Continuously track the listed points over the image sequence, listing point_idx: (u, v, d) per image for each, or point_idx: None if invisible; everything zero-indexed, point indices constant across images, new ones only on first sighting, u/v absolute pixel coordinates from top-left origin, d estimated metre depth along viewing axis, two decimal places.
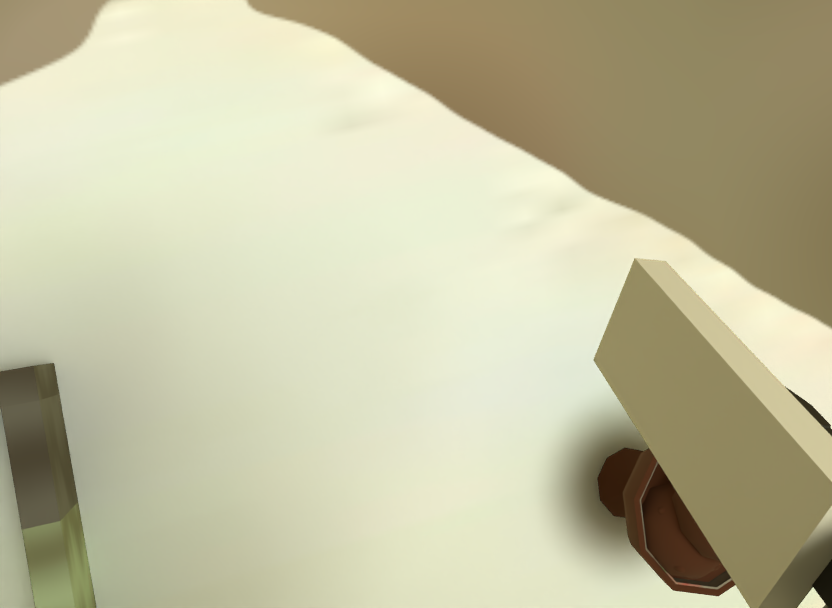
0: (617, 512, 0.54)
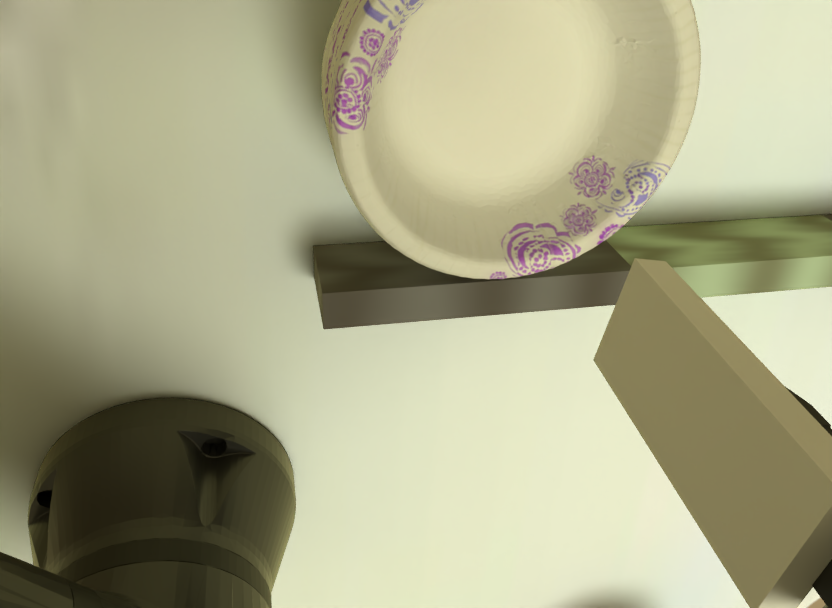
0: None
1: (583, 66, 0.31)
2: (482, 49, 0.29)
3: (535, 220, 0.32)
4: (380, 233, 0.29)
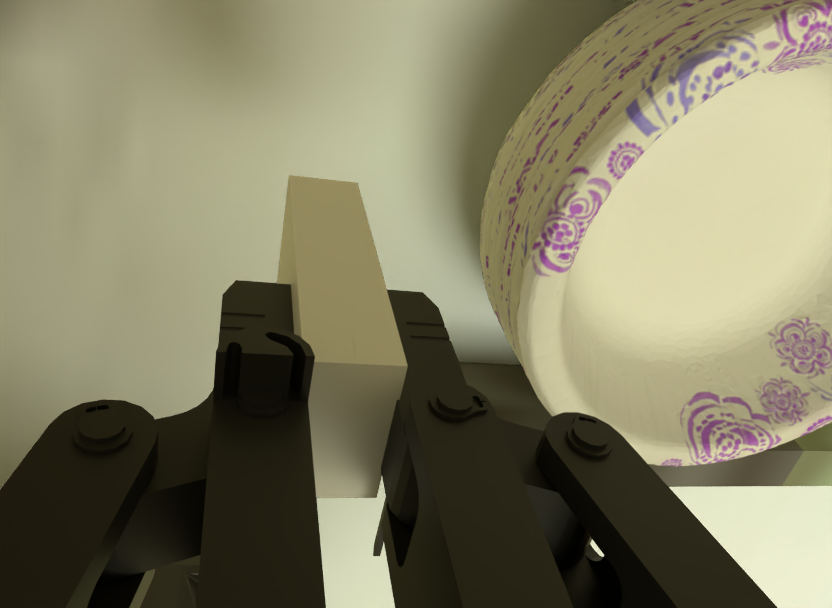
0: None
1: (824, 207, 0.23)
2: (714, 170, 0.22)
3: (721, 390, 0.25)
4: (545, 402, 0.21)
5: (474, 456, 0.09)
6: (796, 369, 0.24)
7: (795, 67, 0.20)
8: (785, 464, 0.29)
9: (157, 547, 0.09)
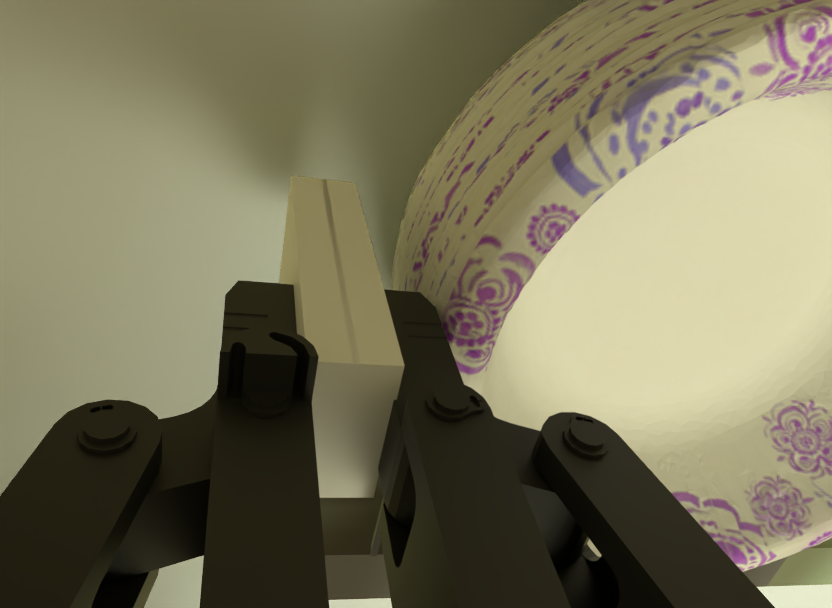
0: None
1: None
2: (691, 222, 0.17)
3: (702, 490, 0.20)
4: None
5: (470, 456, 0.09)
6: (796, 466, 0.19)
7: (798, 92, 0.15)
8: (771, 563, 0.24)
9: (161, 547, 0.09)
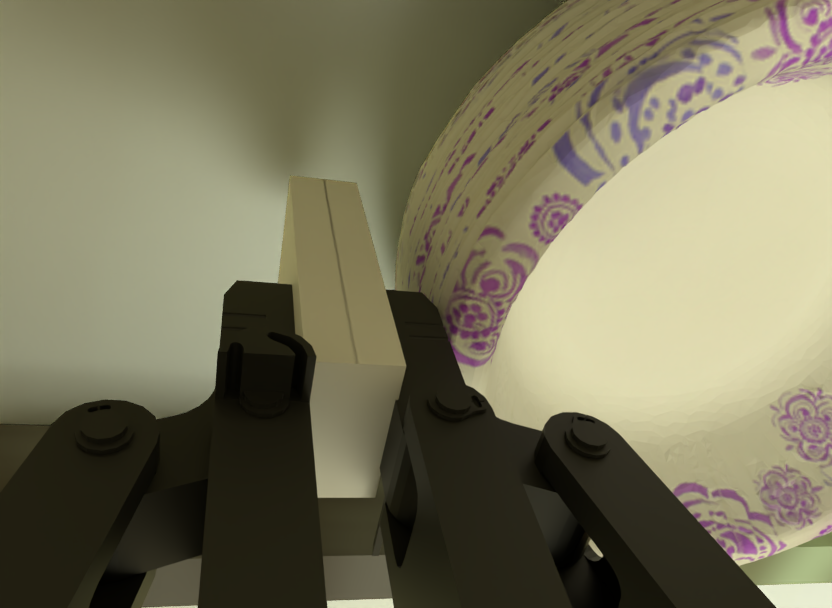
0: None
1: None
2: (695, 211, 0.17)
3: (710, 480, 0.20)
4: None
5: (472, 455, 0.09)
6: (805, 455, 0.19)
7: (801, 77, 0.14)
8: None
9: (159, 547, 0.09)
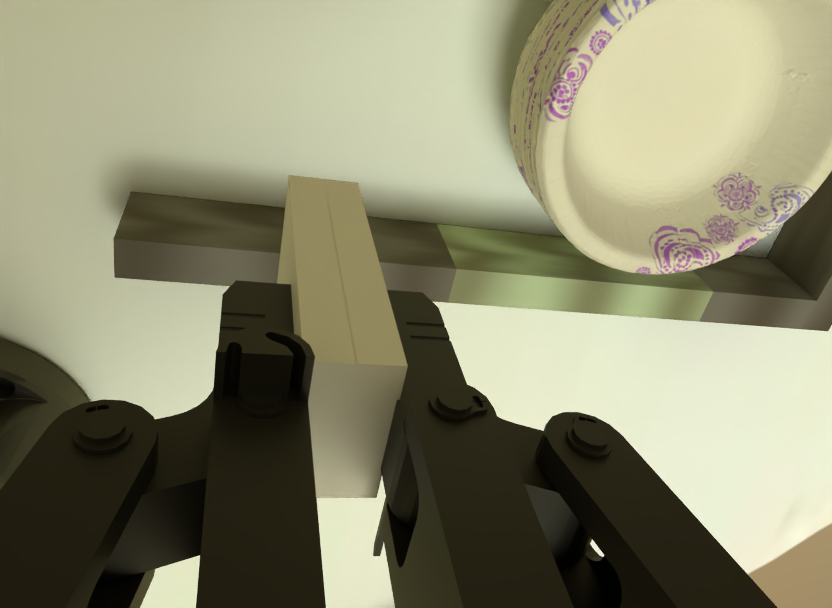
0: None
1: (747, 91, 0.34)
2: (666, 62, 0.32)
3: (679, 224, 0.35)
4: (554, 217, 0.32)
5: (474, 456, 0.09)
6: (731, 208, 0.35)
7: None
8: (444, 281, 0.36)
9: (157, 547, 0.09)
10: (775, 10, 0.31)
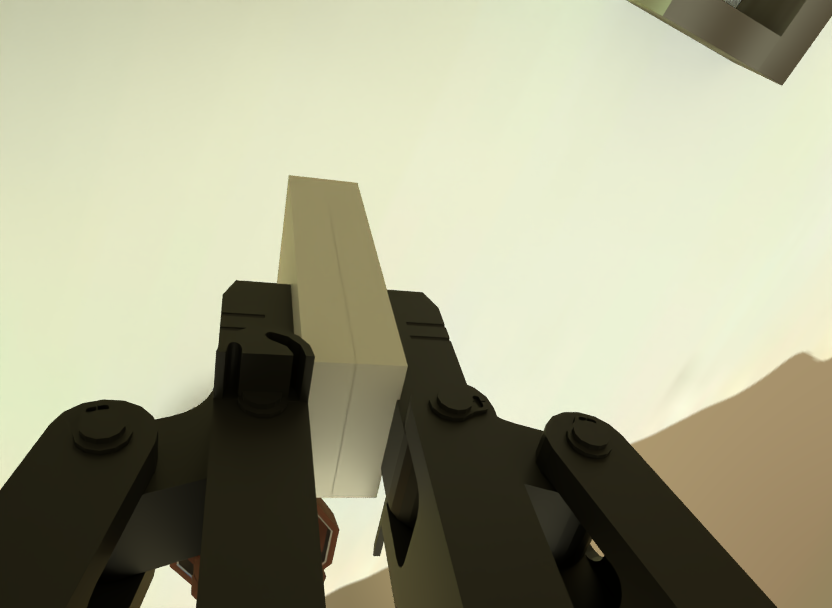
0: None
1: None
2: None
3: None
4: None
5: (474, 456, 0.09)
6: None
7: None
8: None
9: (157, 547, 0.09)
10: None
